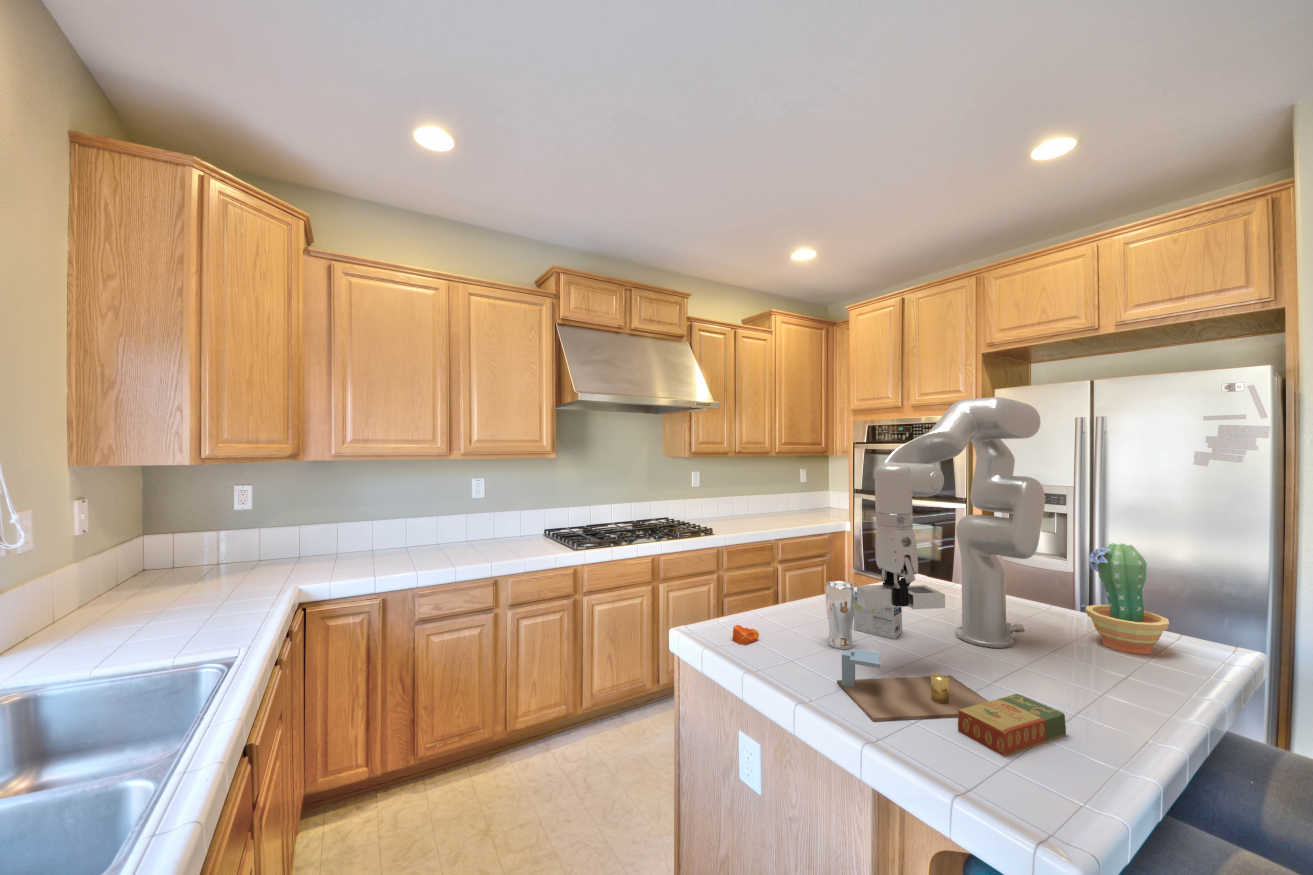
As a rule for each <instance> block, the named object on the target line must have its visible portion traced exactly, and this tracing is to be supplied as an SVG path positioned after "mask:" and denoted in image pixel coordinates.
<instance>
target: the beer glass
mask: <svg viewBox="0 0 1313 875" xmlns="http://www.w3.org/2000/svg"><path fill="white" fill-rule="evenodd" d="M825 584H826V587H825V609H826V614H827V622H828V626H829V627H828V628H829V630H828V631H829V632H828V639H827V645H829V646H830V647H831V648H834V649H837V650H838V649H839V650H852V649H854V646H855V643H854V640H853V632H852V631H853V626H854V623H853V622H854V613H855V592H854V590H855V585H854V584H853V583H851V582H847V581H840V580H830V581H827V582H826V583H825Z"/></svg>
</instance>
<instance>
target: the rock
mask: <svg viewBox="0 0 1313 875" xmlns="http://www.w3.org/2000/svg"><path fill="white" fill-rule="evenodd" d="M732 628H733V630H732V640H733V641H734V642H735V643H736V644H738V645H743V646H746V645H750V644H751V643H754V642H757V641H758V640H759V638H760V632H759V631H758V629H755V628H748V627H743V626H742V625H739V624H736V625H733V627H732Z"/></svg>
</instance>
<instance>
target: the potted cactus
mask: <svg viewBox="0 0 1313 875" xmlns="http://www.w3.org/2000/svg"><path fill="white" fill-rule="evenodd" d="M1088 557H1089V558H1088V563H1089V564H1088V565H1089V566H1090V570H1094V571H1095V572H1098V577H1099V579H1100V581H1101V583H1102V584H1103V586H1104V589H1105V594H1106V598H1107V601H1108V604H1093V605H1092V604H1091V605H1086V607H1085V611H1086V616H1087V617H1089V618H1090V619H1091V621H1092V624H1093V626H1094V628H1095V630H1096V631H1097V633H1098V634H1099V635H1100V637H1101V638H1102V644H1103V645H1105V647H1108V648H1111V649H1113V650H1117V651H1119V652H1124V653H1130V654H1133V655H1134V654H1135V655H1136V654H1138V655H1147V654H1149V655H1150V654H1152V648H1151V647H1153V646H1154V645H1156V643H1158V642H1159V640H1160V638H1161V637H1162V634H1163V632H1164V630H1165V631H1166V630H1168V629H1169V625H1170V622H1169V618H1166V617H1164V616H1162V615H1160V614H1157V613H1154V612H1151V611H1146V610H1145V609H1144V597H1143V594H1144V593H1143V589H1144V586H1145V583H1146V580H1147V566H1148V565H1147V562H1146V560H1145V558H1144V556H1143V555H1141V553H1140V552H1139V551H1138V550H1137V549H1136V548H1135V547H1134V546H1133V545H1132V544H1128V545H1127V544H1125V543H1120V544H1116V543H1113V542H1111V543H1109V544H1108V545H1107V546H1106V547H1098V548H1095V549H1094V550H1093V551H1092V552H1091V553H1090V555H1089V556H1088Z"/></svg>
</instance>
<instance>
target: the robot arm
mask: <svg viewBox="0 0 1313 875" xmlns="http://www.w3.org/2000/svg"><path fill="white" fill-rule="evenodd" d="M1040 428H1041V416H1040V413H1039V412H1038V410H1037V408H1036V407H1034V406H1032V404H1029V403H1025V402H1021V401H1018V400H1014V399H1011V398H1005V397H1001V396H990V397H980V398H979V397H977V398H968V399H962V400H958V401H956V402H954V403H952V404H951V405H950V406H949V407H948V409H946V411H945V412H944V413H943V415H942V416H941V417H940V418H939V419H938V420H937V422H936V423H935V424H934V425H933V426H932V427H931V428H930V430H929V431H927V432H925V433H924V434H921V435H919V436H917V437H915V438H913V439H912V440H910V441H907V442H905V443H904V444H901V445H899V447H897V448H896V449H894V450H893V451H892V452H891V453H890V454H889V455H888V457H887V458H886V459H885V460H884V461H883V462H882V464H881V465H879V466H877V467H876V468H875V470H874V493H875V494H874V497H875V498H874V506H875V527H876V530H875V531H876V533H875V562H876V566H877V568H878V569H879V570H880V571H879V572H880V573H881V581H882V585H892V584H895V588H893V604H894V606H896V607H897V606H908V605H909V596H908V588H910V586H911V583H913V582H914V581H916V576H915V575H917V574H918V573H919V560H918V558H919V557H918V548H917V540H916V536H915V535H916V534H915V530H914V526H913V525H914V522H913V519H914V518H913V497H924V498H925V497H926V498H927V497H928V498H929V497H932V496H936V495H937V494H939V492H941V491H942V489H943V487H944V484H945V477H944V474H943V472H942V470H941V469H939V467H937V466H936V465H933V464H935V463H940V462H944V461H947V460H950V459H953V458H955V457H957V456H959V455H960V454H962V453H963V451H964V450H965V448H966V447H967V446H968V444H969V443H970V442H971V444H972V447H973V448H974V451H975V457H976V460H975V466H974V471H973V478H972V483H971V489H970V494H969V495H970V496H969V497H970V498H969V499H970V502H971V505H972V506H973V507H974V508H976V509H978V510H980V511H985V512H994V513H1000V514H1001V513H1002V514H1011V515H1012V514H1013V517H1011V518H1010V517H1004V516H1003V517H1002V516H994V515H988V514H987V515H986V514H968V515H965V516H963V517H962V518H960V519H959V520H958V522H957V524H956V529H955V530H956V531H955V533H956V539H957V543H958V547H959V552H960V563H961V568H960V569H961V616H962V617H961V619H962V620H961V622H962V623H961V624H962V625H961V626H959V627H957V628H955V635H956V637H957V638H959V639H960V640H962V641H964V642H967V643H969V644H972V645H976V646H980V647H986V648H993V649H994V648H995V649H997V648H998V649H1002V648H1003V649H1004V648H1010V647H1013V646H1014V645H1015V640H1014V637H1013V636H1012V634H1014V633H1024V632H1025V627H1024V625H1023V624H1019V623H1018V624H1017V623H1016V624H1012V623H1011V622H1007V594H1006V593H1007V592H1006V591H1007V590H1006V589H1007V588H1006V587H1007V586H1006V571H1005V568H1004V565H1003V563H1002V561H1001V560H1000V559H999V557H998V556H1002V557H1007V558H1011V559H1018V560H1027V559H1030V558H1032V557H1033V556H1034V555H1035V554H1036V552H1037V550H1038V548H1039V547H1038V546H1039V544H1040V543H1039V541H1040V537H1041V530H1042V525H1043V524H1042V523H1043V518H1044V512H1045V505H1046V496H1045V490H1044V486H1043V485H1042V484H1041V483H1040V481H1039V480H1038V479H1035V477H1034V478H1033V477H1030V476H1025V475H1024V476H1021V475H1014V471H1015V463H1016V461H1015V456H1014V454H1013V452H1012V451H1011V449H1010V448H1009V447H1008V446H1007V445H1006V444H1005V443H1004V441H1003V440H1007V439H1008V440H1014V439H1015V440H1017V439H1020V440H1021V439H1030V438H1032V437H1034V436H1035V435H1036V434H1037V433H1038V432H1039V430H1040Z"/></svg>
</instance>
